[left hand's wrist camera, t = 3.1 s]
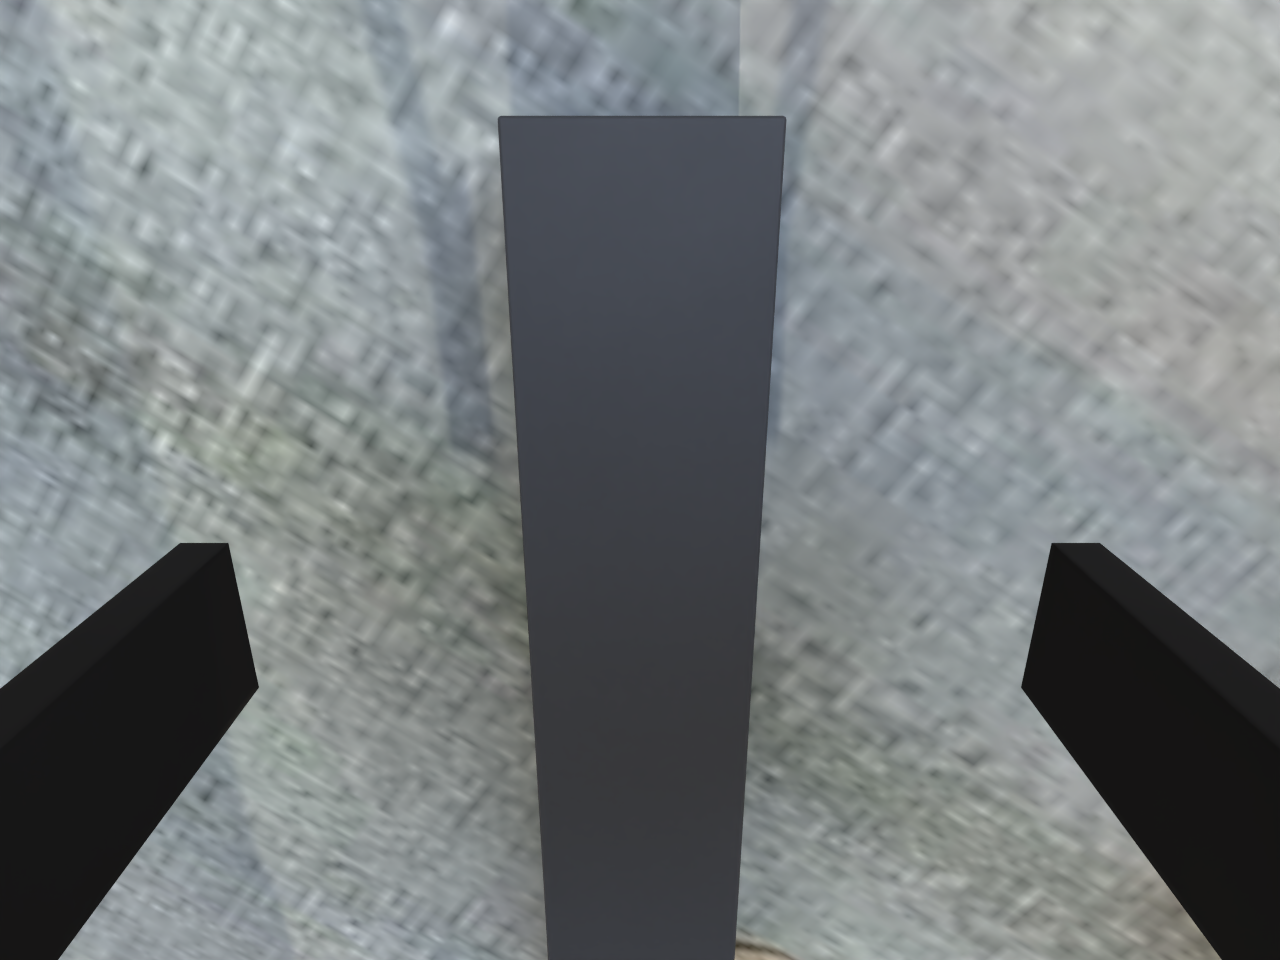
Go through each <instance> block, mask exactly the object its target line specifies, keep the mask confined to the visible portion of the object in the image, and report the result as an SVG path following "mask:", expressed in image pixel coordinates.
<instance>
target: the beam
mask: <svg viewBox="0 0 1280 960" xmlns="http://www.w3.org/2000/svg"><path fill="white" fill-rule="evenodd" d="M498 131H499V148H500V165H501V181H502V198H503V215H504V231H505V248H506V265H507V281H508V298H509V315H510V331H511V348H512V364H513V381H514V398H515V414H516V431H517V448H518V464H519V481H520V498H521V514H522V531H523V548H524V564H525V581H526V597H527V614H528V631H529V647H530V664H531V681H532V697H533V714H534V731H535V747H536V764H537V781H538V797H539V814H540V830H541V847H542V864H543V880H544V897H545V914H546V930H547V947H548V960H734V958H735V941H736V925H737V909H738V893H739V877H740V861H741V844H742V828H743V812H744V796H745V780H746V763H747V747H748V731H749V715H750V699H751V682H752V666H753V650H754V634H755V618H756V602H757V585H758V569H759V553H760V537H761V521H762V504H763V488H764V472H765V456H766V440H767V424H768V407H769V391H770V375H771V359H772V343H773V326H774V310H775V294H776V278H777V262H778V245H779V229H780V213H781V197H782V181H783V165H784V148H785V132H786V117H784V116H500V117H499V118H498Z"/></svg>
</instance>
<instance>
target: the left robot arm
mask: <svg viewBox="0 0 1280 960" xmlns="http://www.w3.org/2000/svg"><path fill="white" fill-rule="evenodd" d="M258 688H259V686H258V681H257V676H256V672H255V667H254V662H253V658H252V653H251V648H250V643H249V639H248V634H247V629H246V624H245V620H244V615H243V610H242V606H241V601H240V596H239V591H238V587H237V582H236V577H235V573H234V568H233V563H232V558H231V554H230V549H229V544H228V543H180V544H178V545H177V546H176V547H175V548H174V549H172V550H171V551H170V552H169V553H167V554H166V555H165V556H164V557H162V558H161V559H160V560H159V561H157V562H156V563H155V564H154V565H153V566H151V567H150V568H149V569H148V570H146V571H145V572H144V573H143V574H141V575H140V576H139V577H138V578H136V579H135V580H134V581H133V582H132V583H130V584H129V585H128V586H127V587H125V588H124V589H123V590H122V591H120V592H119V593H118V594H117V595H115V596H114V597H113V598H112V599H111V600H109V601H108V602H107V603H106V604H104V605H103V606H102V607H101V608H99V609H98V610H97V611H96V612H94V613H93V614H92V615H91V616H90V617H88V618H87V619H86V620H85V621H83V622H82V623H81V624H80V625H78V626H77V627H76V628H75V629H74V630H72V631H71V632H70V633H69V634H67V635H66V636H65V637H64V638H62V639H61V640H60V641H59V642H57V643H56V644H55V645H54V646H53V647H51V648H50V649H49V650H48V651H46V652H45V653H44V654H43V655H41V656H40V657H39V658H38V659H36V660H35V661H34V662H33V663H32V664H30V665H29V666H28V667H27V668H25V669H24V670H23V671H22V672H20V673H19V674H18V675H17V676H15V677H14V678H13V679H12V680H11V681H9V682H8V683H7V684H6V685H4V686H3V687H2V688H1V689H0V960H58V959H59V958H60V956H61V955H62V954H63V952H64V951H65V950H66V948H67V947H68V946H69V944H70V943H71V941H72V940H73V939H74V937H75V936H76V935H77V933H78V932H79V931H80V929H81V928H82V927H83V925H84V924H85V922H86V921H87V920H88V918H89V917H90V916H91V914H92V913H93V912H94V910H95V909H96V908H97V906H98V905H99V903H100V902H101V901H102V899H103V898H104V897H105V895H106V894H107V893H108V891H109V890H110V889H111V887H112V886H113V884H114V883H115V882H116V880H117V879H118V878H119V876H120V875H121V874H122V872H123V871H124V870H125V868H126V867H127V866H128V864H129V863H130V861H131V860H132V859H133V857H134V856H135V855H136V853H137V852H138V851H139V849H140V848H141V847H142V845H143V844H144V842H145V841H146V840H147V838H148V837H149V836H150V834H151V833H152V832H153V830H154V829H155V828H156V826H157V825H158V823H159V822H160V821H161V819H162V818H163V817H164V815H165V814H166V813H167V811H168V810H169V809H170V807H171V806H172V805H173V803H174V802H175V800H176V799H177V798H178V796H179V795H180V794H181V792H182V791H183V790H184V788H185V787H186V786H187V784H188V783H189V781H190V780H191V779H192V777H193V776H194V775H195V773H196V772H197V771H198V769H199V768H200V767H201V765H202V764H203V762H204V761H205V760H206V758H207V757H208V756H209V754H210V753H211V752H212V750H213V749H214V748H215V746H216V745H217V744H218V742H219V741H220V739H221V738H222V737H223V735H224V734H225V733H226V731H227V730H228V729H229V727H230V726H231V725H232V723H233V722H234V720H235V719H236V718H237V716H238V715H239V714H240V712H241V711H242V710H243V708H244V707H245V706H246V704H247V703H248V701H249V700H250V699H251V697H252V696H253V695H254V693H255V692H256V691H257V689H258ZM1021 688H1022V689H1023V691H1024V692H1025V693H1026V695H1027V696H1028V697H1029V699H1030V700H1031V701H1032V703H1033V704H1034V706H1035V707H1036V708H1037V710H1038V711H1039V712H1040V714H1041V715H1042V716H1043V718H1044V719H1045V720H1046V722H1047V723H1048V725H1049V726H1050V727H1051V729H1052V730H1053V731H1054V733H1055V734H1056V735H1057V737H1058V738H1059V739H1060V741H1061V742H1062V744H1063V745H1064V746H1065V748H1066V749H1067V750H1068V752H1069V753H1070V754H1071V756H1072V757H1073V758H1074V760H1075V761H1076V762H1077V764H1078V765H1079V767H1080V768H1081V769H1082V771H1083V772H1084V773H1085V775H1086V776H1087V777H1088V779H1089V780H1090V781H1091V783H1092V784H1093V786H1094V787H1095V788H1096V790H1097V791H1098V792H1099V794H1100V795H1101V796H1102V798H1103V799H1104V800H1105V802H1106V803H1107V805H1108V806H1109V807H1110V809H1111V810H1112V811H1113V813H1114V814H1115V815H1116V817H1117V818H1118V819H1119V821H1120V822H1121V823H1122V825H1123V826H1124V828H1125V829H1126V830H1127V832H1128V833H1129V834H1130V836H1131V837H1132V838H1133V840H1134V841H1135V842H1136V844H1137V845H1138V847H1139V848H1140V849H1141V851H1142V852H1143V853H1144V855H1145V856H1146V857H1147V859H1148V860H1149V861H1150V863H1151V864H1152V866H1153V867H1154V868H1155V870H1156V871H1157V872H1158V874H1159V875H1160V876H1161V878H1162V879H1163V880H1164V882H1165V883H1166V884H1167V886H1168V887H1169V889H1170V890H1171V891H1172V893H1173V894H1174V895H1175V897H1176V898H1177V899H1178V901H1179V902H1180V903H1181V905H1182V906H1183V908H1184V909H1185V910H1186V912H1187V913H1188V914H1189V916H1190V917H1191V918H1192V920H1193V921H1194V922H1195V924H1196V925H1197V927H1198V928H1199V929H1200V931H1201V932H1202V933H1203V935H1204V936H1205V937H1206V939H1207V940H1208V941H1209V943H1210V944H1211V946H1212V947H1213V948H1214V950H1215V951H1216V952H1217V954H1218V955H1219V956H1220V958H1221V959H1222V960H1280V689H1279V688H1278V687H1277V686H1276V685H1274V684H1273V683H1272V682H1271V681H1269V680H1268V679H1267V678H1266V677H1265V676H1263V675H1262V674H1261V673H1260V672H1258V671H1257V670H1256V669H1255V668H1253V667H1252V666H1251V665H1250V664H1248V663H1247V662H1246V661H1245V660H1244V659H1242V658H1241V657H1240V656H1239V655H1237V654H1236V653H1235V652H1234V651H1232V650H1231V649H1230V648H1229V647H1227V646H1226V645H1225V644H1224V643H1223V642H1221V641H1220V640H1219V639H1218V638H1216V637H1215V636H1214V635H1213V634H1211V633H1210V632H1209V631H1208V630H1206V629H1205V628H1204V627H1203V626H1202V625H1200V624H1199V623H1198V622H1197V621H1195V620H1194V619H1193V618H1192V617H1190V616H1189V615H1188V614H1187V613H1186V612H1184V611H1183V610H1182V609H1181V608H1179V607H1178V606H1177V605H1176V604H1174V603H1173V602H1172V601H1171V600H1169V599H1168V598H1167V597H1166V596H1165V595H1163V594H1162V593H1161V592H1160V591H1158V590H1157V589H1156V588H1155V587H1153V586H1152V585H1151V584H1150V583H1148V582H1147V581H1146V580H1145V579H1144V578H1142V577H1141V576H1140V575H1139V574H1137V573H1136V572H1135V571H1134V570H1132V569H1131V568H1130V567H1129V566H1127V565H1126V564H1125V563H1124V562H1123V561H1121V560H1120V559H1119V558H1118V557H1116V556H1115V555H1114V554H1113V553H1111V552H1110V551H1109V550H1108V549H1106V548H1105V547H1104V546H1103V545H1102V544H1100V543H1052V544H1051V549H1050V554H1049V558H1048V563H1047V568H1046V573H1045V577H1044V582H1043V587H1042V591H1041V596H1040V601H1039V606H1038V610H1037V615H1036V620H1035V624H1034V629H1033V634H1032V639H1031V643H1030V648H1029V653H1028V658H1027V662H1026V667H1025V672H1024V676H1023V681H1022V686H1021Z"/></svg>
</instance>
